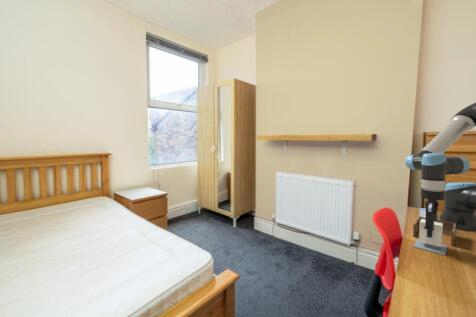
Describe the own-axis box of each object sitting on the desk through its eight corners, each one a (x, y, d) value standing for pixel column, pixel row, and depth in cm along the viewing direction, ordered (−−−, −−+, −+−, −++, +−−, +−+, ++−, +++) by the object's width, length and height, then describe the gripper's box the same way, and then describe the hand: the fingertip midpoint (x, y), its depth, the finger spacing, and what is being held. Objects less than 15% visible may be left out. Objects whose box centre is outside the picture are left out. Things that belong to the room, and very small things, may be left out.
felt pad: (417, 239, 99) (417, 238, 99) (447, 246, 92) (447, 245, 92) (413, 246, 93) (413, 245, 93) (445, 255, 85) (445, 254, 85)
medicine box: (438, 229, 109) (439, 213, 108) (428, 229, 110) (429, 212, 109) (428, 223, 117) (428, 208, 116) (418, 223, 118) (419, 207, 117)
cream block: (420, 237, 97) (421, 218, 96) (442, 243, 91) (442, 222, 91) (418, 241, 93) (419, 221, 92) (440, 247, 88) (441, 226, 87)
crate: (418, 227, 112) (418, 216, 111) (455, 235, 102) (455, 223, 101) (413, 236, 102) (413, 224, 102) (453, 246, 92) (453, 233, 92)
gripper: (424, 184, 99) (422, 232, 101) (417, 191, 87) (415, 246, 89) (446, 187, 94) (444, 237, 95) (442, 194, 82) (439, 252, 83)
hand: (430, 241), depth 92 cm, fingers closed on cream block, 5 cm apart
